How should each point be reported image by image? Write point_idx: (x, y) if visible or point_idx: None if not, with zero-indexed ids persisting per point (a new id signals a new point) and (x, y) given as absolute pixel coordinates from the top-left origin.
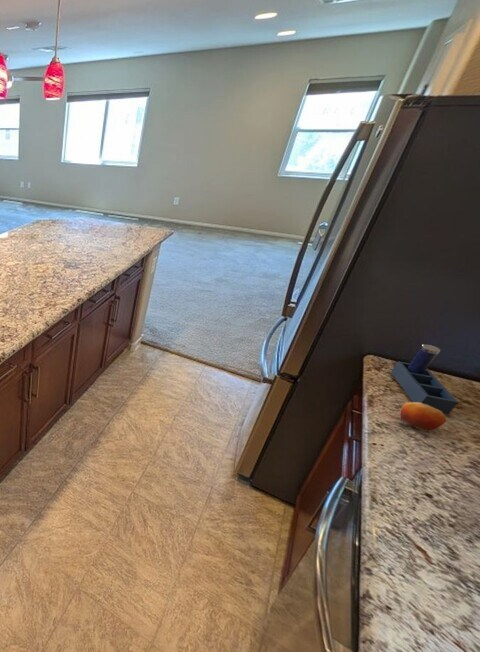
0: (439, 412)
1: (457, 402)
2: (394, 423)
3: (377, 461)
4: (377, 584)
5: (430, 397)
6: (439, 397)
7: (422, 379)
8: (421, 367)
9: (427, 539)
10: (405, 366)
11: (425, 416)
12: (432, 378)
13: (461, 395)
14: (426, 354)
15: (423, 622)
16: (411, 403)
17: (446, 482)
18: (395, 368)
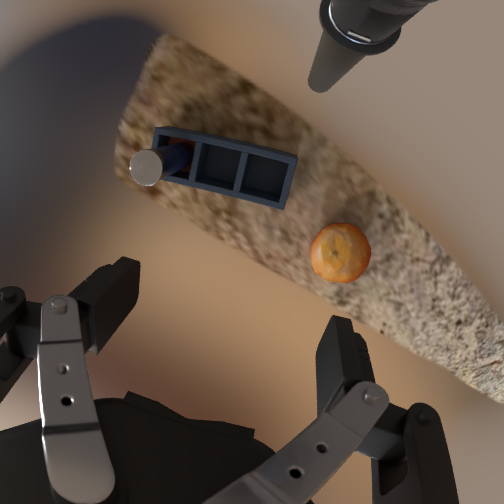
0: (359, 255)
1: (297, 159)
2: None
3: (410, 345)
4: (497, 398)
5: (285, 203)
6: (284, 185)
7: (202, 155)
8: (181, 164)
9: (489, 353)
10: None
11: (361, 274)
12: (203, 142)
13: (222, 80)
14: (163, 176)
15: None
16: (328, 279)
17: (448, 289)
18: None
